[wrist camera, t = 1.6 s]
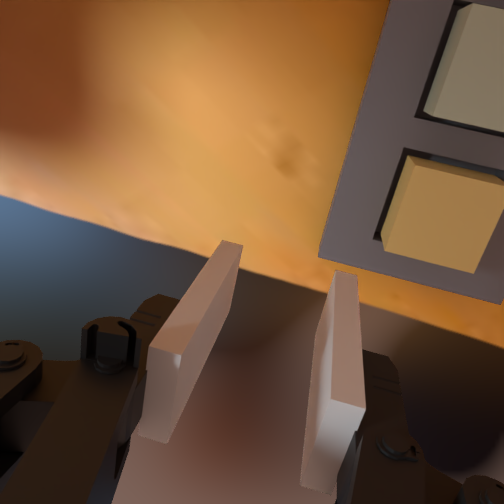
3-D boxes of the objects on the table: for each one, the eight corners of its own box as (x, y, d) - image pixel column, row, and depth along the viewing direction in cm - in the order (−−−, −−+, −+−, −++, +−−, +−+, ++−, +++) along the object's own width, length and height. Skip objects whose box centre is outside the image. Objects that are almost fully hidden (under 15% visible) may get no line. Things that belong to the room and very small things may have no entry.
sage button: (423, 110, 30) (432, 116, 26) (458, 10, 27) (473, 3, 24) (514, 131, 29) (535, 139, 26) (558, 30, 27) (587, 26, 23)
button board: (319, 245, 37) (317, 257, 35) (460, -243, 24) (472, -275, 22) (490, 289, 36) (500, 304, 33) (730, -203, 23) (772, -232, 21)
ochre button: (380, 233, 33) (384, 250, 30) (407, 155, 31) (415, 165, 28) (461, 253, 33) (473, 273, 30) (495, 175, 30) (513, 188, 27)
